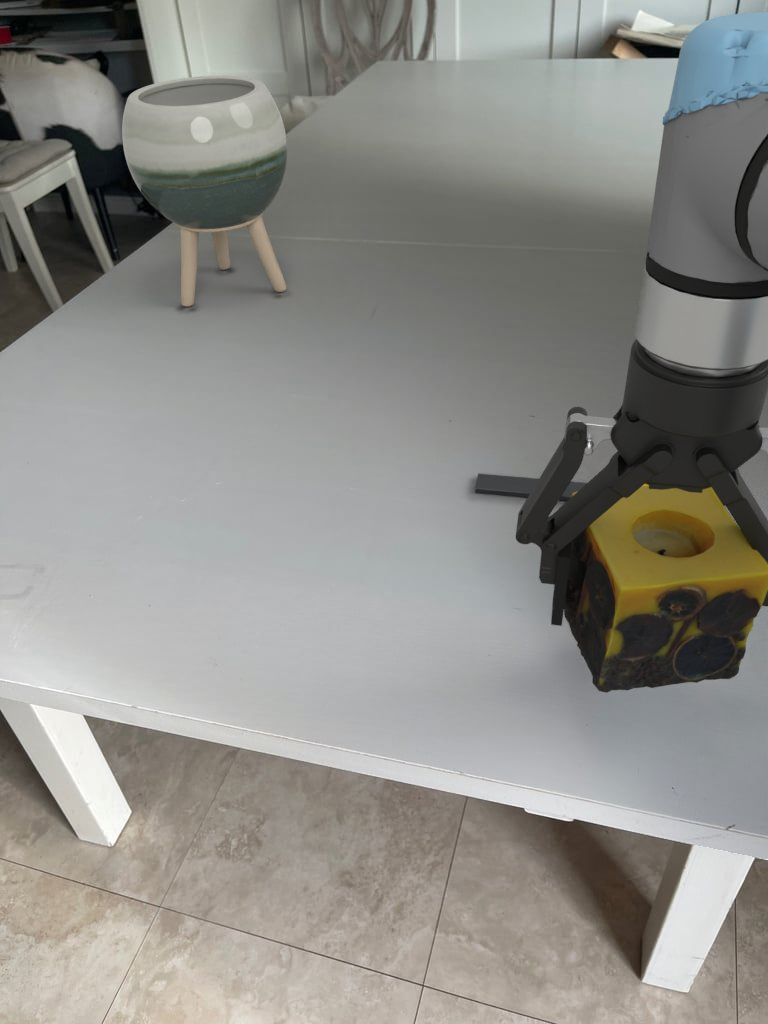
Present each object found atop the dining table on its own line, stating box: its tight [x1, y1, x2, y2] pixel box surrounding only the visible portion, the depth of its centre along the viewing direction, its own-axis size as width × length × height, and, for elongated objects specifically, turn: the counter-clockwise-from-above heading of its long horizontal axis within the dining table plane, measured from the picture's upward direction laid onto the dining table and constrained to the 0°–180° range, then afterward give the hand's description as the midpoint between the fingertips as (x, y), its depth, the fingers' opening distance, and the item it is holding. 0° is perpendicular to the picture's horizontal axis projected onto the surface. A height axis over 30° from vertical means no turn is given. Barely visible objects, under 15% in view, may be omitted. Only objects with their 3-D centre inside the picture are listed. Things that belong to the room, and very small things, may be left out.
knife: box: [474, 473, 649, 502], centre depth 81 cm, size 23×3×2 cm, turn 78°
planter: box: [121, 75, 288, 308], centre depth 116 cm, size 22×22×28 cm
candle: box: [563, 486, 768, 694], centre depth 55 cm, size 10×10×10 cm
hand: (643, 621), depth 58 cm, fingers closed on candle, 11 cm apart
